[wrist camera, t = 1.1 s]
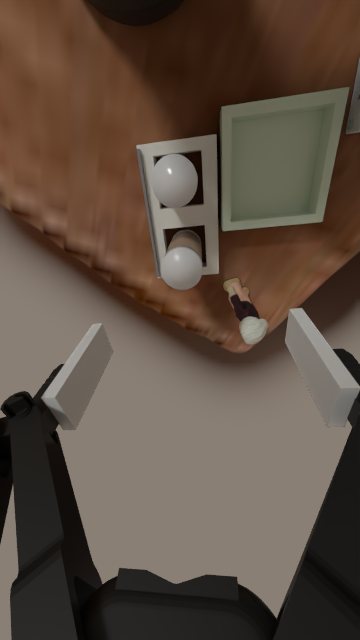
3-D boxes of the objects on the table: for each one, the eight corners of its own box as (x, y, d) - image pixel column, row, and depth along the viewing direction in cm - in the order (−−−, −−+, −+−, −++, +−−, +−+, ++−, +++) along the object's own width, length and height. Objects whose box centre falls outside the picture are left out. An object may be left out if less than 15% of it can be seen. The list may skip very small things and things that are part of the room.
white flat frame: (140, 147, 28) (135, 144, 26) (215, 136, 27) (216, 133, 25) (159, 273, 36) (157, 279, 34) (217, 269, 35) (219, 275, 33)
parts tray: (219, 113, 26) (221, 106, 23) (333, 96, 24) (349, 86, 22) (220, 227, 32) (222, 231, 29) (312, 218, 31) (322, 221, 28)
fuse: (161, 162, 29) (147, 157, 21) (196, 158, 28) (195, 150, 20) (166, 202, 31) (155, 210, 23) (198, 198, 30) (198, 205, 23)
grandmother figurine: (212, 287, 37) (217, 332, 26) (228, 268, 35) (241, 308, 24) (247, 312, 39) (266, 364, 28) (264, 296, 37) (292, 344, 26)
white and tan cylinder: (169, 230, 33) (157, 251, 23) (200, 227, 32) (201, 247, 23) (173, 261, 35) (163, 291, 26) (202, 258, 34) (203, 288, 25)
